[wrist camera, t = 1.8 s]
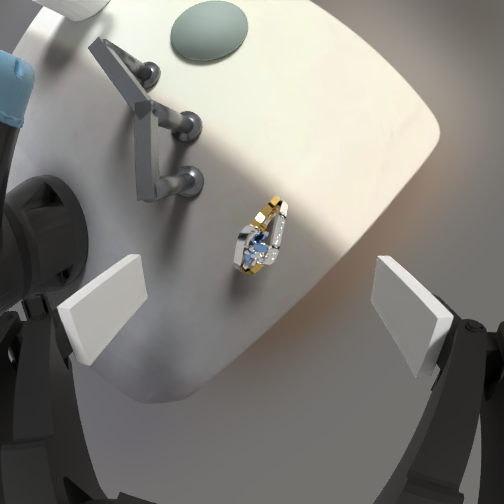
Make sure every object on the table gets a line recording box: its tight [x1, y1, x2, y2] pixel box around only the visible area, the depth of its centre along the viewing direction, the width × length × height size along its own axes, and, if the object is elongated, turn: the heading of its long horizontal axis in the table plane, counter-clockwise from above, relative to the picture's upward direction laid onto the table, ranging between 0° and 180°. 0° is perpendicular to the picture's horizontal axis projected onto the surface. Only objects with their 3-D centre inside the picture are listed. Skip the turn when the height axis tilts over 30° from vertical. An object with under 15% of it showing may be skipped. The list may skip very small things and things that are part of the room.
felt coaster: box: [171, 1, 248, 61], centre depth 20 cm, size 8×8×1 cm
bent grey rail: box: [88, 37, 204, 202], centre depth 19 cm, size 8×15×10 cm, turn 1°
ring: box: [233, 196, 288, 276], centre depth 23 cm, size 7×3×8 cm, turn 145°
